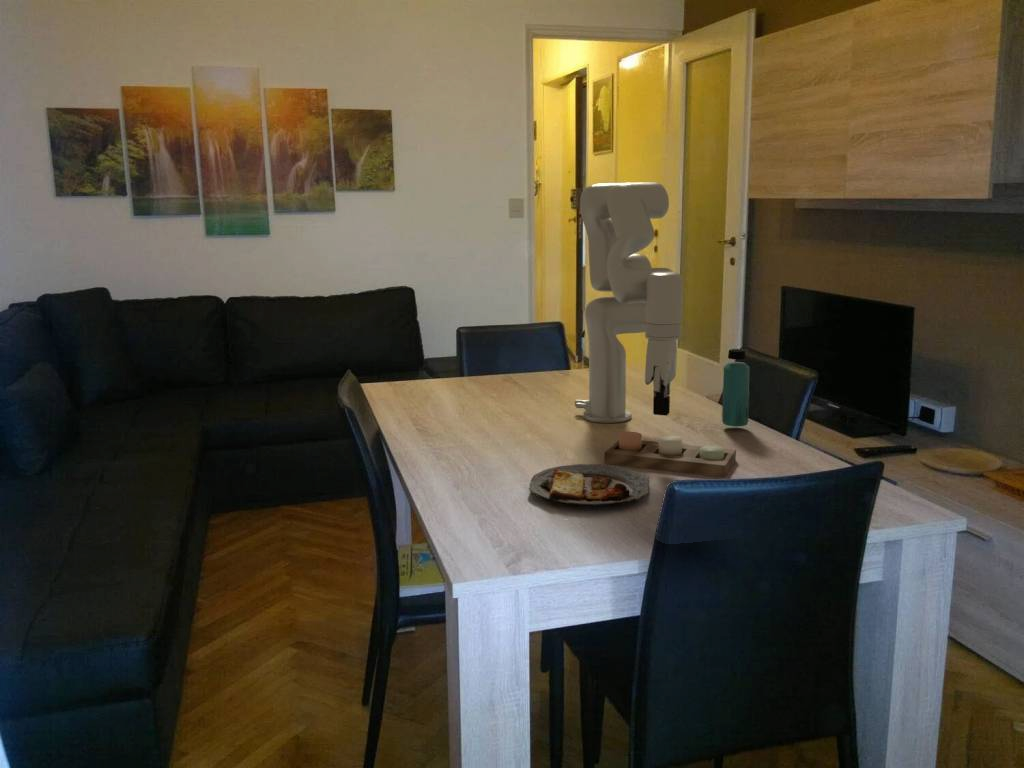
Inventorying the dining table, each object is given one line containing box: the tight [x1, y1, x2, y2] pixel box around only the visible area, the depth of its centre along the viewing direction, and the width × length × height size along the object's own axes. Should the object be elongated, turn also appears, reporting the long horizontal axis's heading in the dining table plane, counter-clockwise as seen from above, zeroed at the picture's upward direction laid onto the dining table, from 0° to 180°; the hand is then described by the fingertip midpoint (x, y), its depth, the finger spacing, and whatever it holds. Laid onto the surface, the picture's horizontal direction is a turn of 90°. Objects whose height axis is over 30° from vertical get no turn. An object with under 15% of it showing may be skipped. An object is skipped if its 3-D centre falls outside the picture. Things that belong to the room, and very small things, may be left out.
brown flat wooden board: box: [603, 439, 737, 478], centre depth 187 cm, size 26×12×2 cm, turn 65°
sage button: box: [700, 445, 725, 461], centre depth 183 cm, size 5×5×4 cm
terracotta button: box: [618, 431, 643, 452], centre depth 190 cm, size 5×5×4 cm
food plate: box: [528, 463, 650, 507], centre depth 170 cm, size 25×23×4 cm
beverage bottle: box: [721, 348, 751, 427], centre depth 210 cm, size 6×7×20 cm
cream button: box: [658, 435, 683, 456], centre depth 186 cm, size 5×5×4 cm
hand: (661, 414), depth 186 cm, fingers closed
